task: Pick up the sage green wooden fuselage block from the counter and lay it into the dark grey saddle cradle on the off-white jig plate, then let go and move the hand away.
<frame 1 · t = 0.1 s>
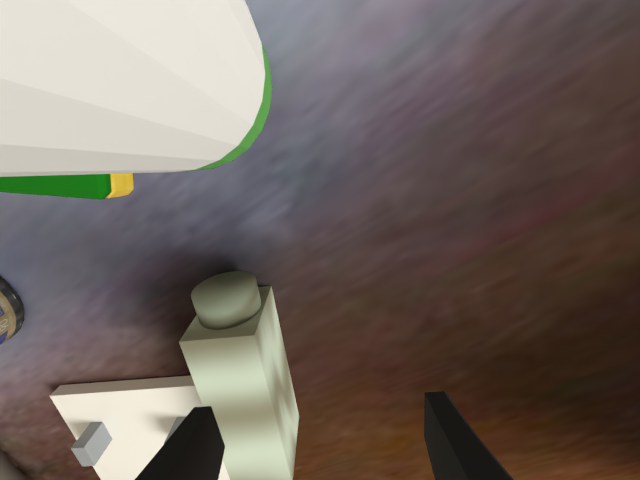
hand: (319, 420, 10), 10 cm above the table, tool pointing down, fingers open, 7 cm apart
wine bottle: (199, 91, 15), on the table, touching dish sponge
fuselage: (259, 357, 23), on the table
cradle jig: (169, 457, 27), on the table
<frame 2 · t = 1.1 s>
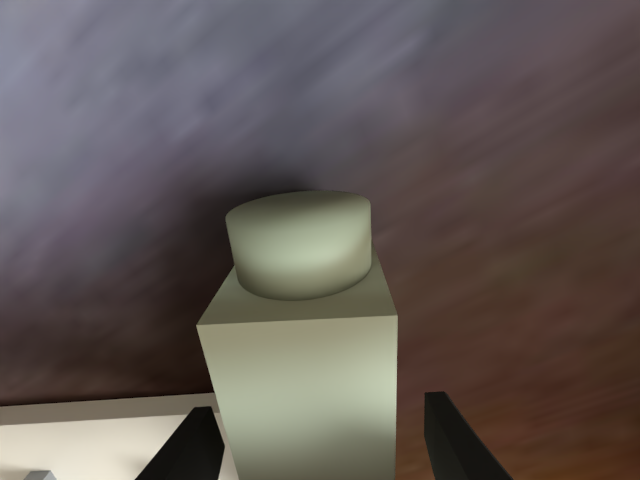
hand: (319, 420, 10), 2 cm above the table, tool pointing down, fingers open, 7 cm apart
fuselage: (323, 365, 13), on the table
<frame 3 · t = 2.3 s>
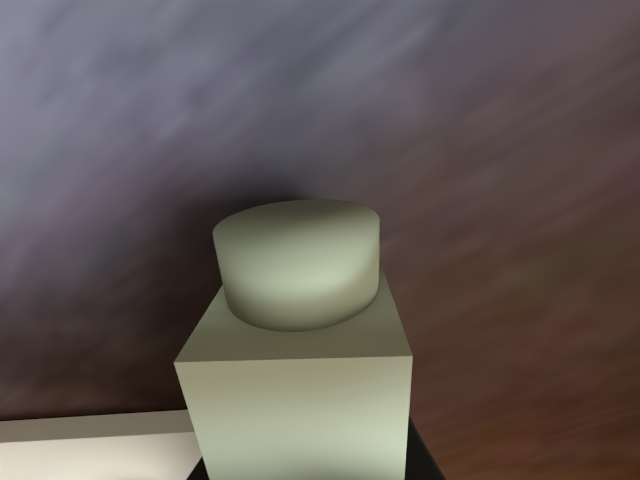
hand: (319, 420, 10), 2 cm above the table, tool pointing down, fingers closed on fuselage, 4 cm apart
fuselage: (320, 385, 12), on the table, touching gripper
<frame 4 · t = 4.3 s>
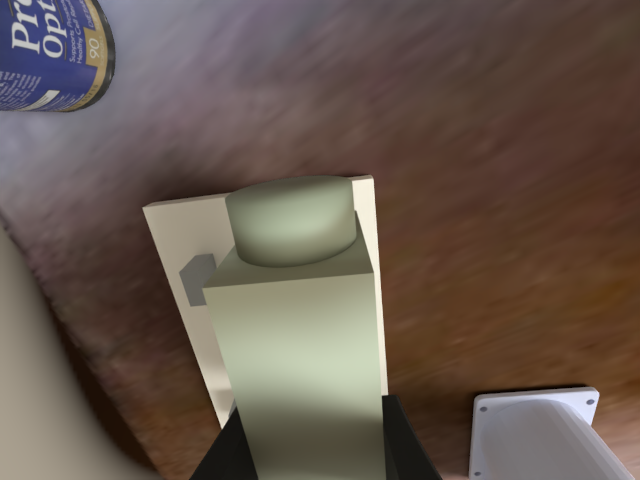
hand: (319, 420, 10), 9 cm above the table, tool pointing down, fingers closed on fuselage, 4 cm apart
pill bottle: (57, 41, 14), on the table
fuselage: (321, 342, 14), point 5 cm above the table, touching gripper
cradle jig: (287, 325, 20), on the table
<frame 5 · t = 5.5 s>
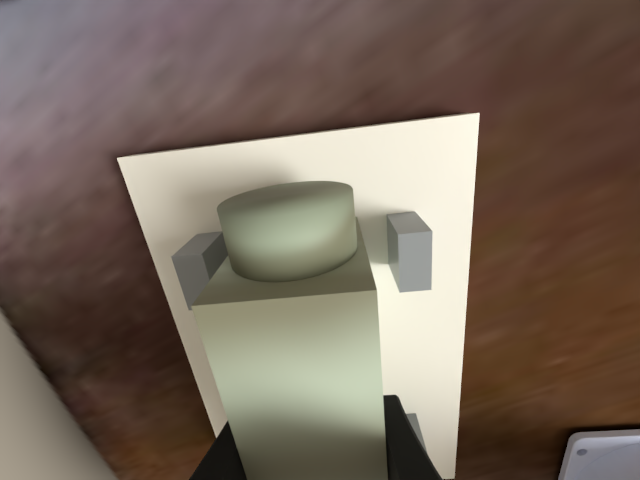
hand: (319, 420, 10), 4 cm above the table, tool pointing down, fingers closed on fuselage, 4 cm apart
fuselage: (321, 352, 13), point 1 cm above the table, touching cradle jig, gripper
cradle jig: (322, 337, 14), on the table
when the fingers open (4 cm above the table, at t = 6.3 s): fuselage stays where it is, resting on cradle jig.
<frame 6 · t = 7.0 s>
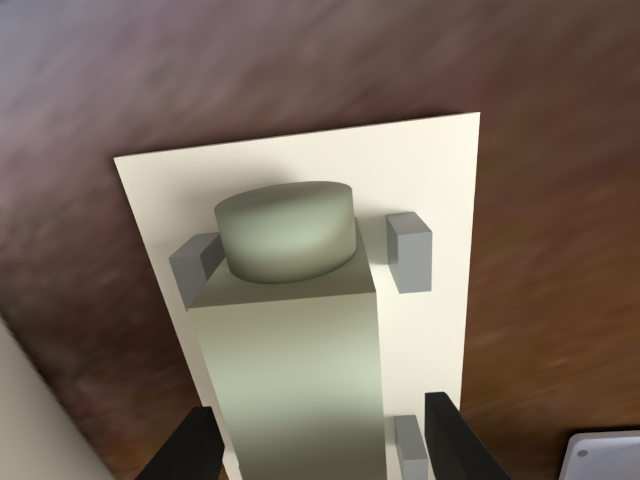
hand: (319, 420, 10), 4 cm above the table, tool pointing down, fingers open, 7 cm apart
fuselage: (320, 353, 13), point 1 cm above the table, touching cradle jig
cradle jig: (321, 338, 14), on the table
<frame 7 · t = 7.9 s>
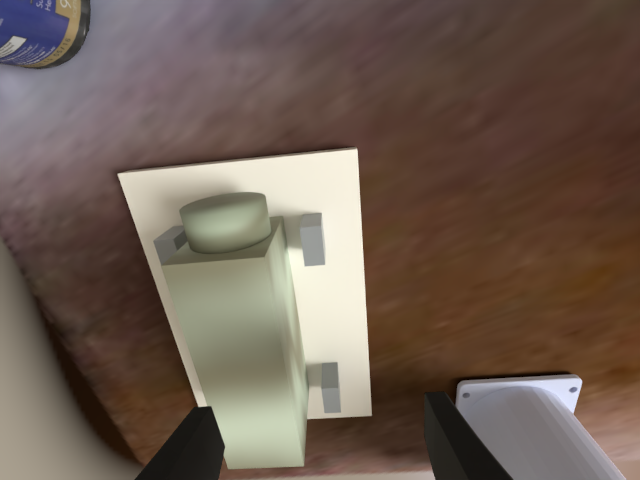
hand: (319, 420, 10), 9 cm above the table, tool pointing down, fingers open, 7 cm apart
fuselage: (264, 314, 18), point 1 cm above the table, touching cradle jig
cradle jig: (268, 305, 19), on the table
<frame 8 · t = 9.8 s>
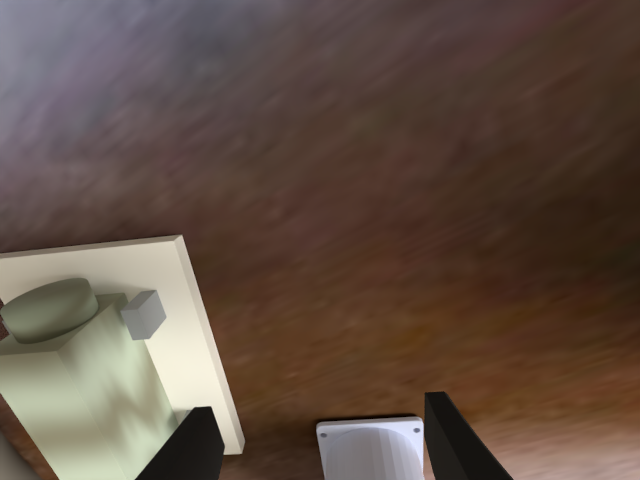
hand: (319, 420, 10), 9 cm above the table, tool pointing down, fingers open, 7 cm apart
fuselage: (127, 370, 21), point 1 cm above the table, touching cradle jig
cradle jig: (136, 359, 22), on the table
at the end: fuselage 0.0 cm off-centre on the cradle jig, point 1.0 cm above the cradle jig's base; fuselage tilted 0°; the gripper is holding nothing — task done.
